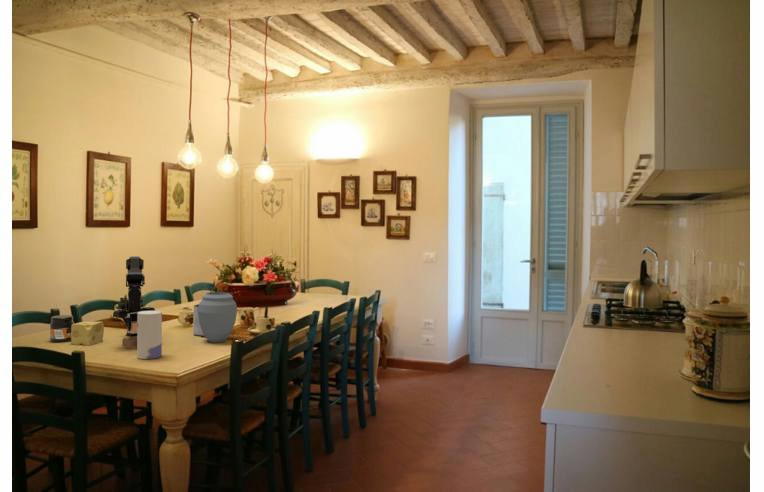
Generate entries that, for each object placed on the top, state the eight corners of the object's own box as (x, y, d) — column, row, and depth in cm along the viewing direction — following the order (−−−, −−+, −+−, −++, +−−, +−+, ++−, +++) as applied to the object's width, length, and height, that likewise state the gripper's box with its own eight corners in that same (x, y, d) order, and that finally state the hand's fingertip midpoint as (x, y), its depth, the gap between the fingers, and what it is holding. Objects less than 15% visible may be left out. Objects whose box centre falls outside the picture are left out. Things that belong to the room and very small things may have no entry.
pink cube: (136, 330, 276) (136, 320, 276) (142, 332, 273) (142, 321, 273) (126, 332, 272) (126, 322, 272) (132, 333, 269) (132, 323, 269)
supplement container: (57, 343, 275) (57, 319, 274) (45, 341, 280) (45, 316, 280) (78, 340, 284) (78, 316, 283) (67, 337, 289) (67, 314, 289)
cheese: (89, 345, 272) (89, 325, 272) (69, 344, 274) (69, 323, 274) (104, 341, 282) (104, 321, 282) (85, 340, 284) (85, 320, 284)
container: (141, 354, 257) (141, 310, 256) (164, 354, 258) (164, 310, 257) (133, 359, 247) (134, 313, 246) (157, 359, 248) (157, 313, 247)
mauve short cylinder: (139, 344, 278) (139, 335, 278) (146, 347, 273) (146, 338, 273) (122, 346, 273) (122, 337, 272) (129, 349, 267) (129, 340, 267)
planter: (186, 335, 302) (186, 306, 301) (206, 330, 317) (206, 302, 316) (210, 338, 296) (211, 308, 295) (230, 332, 311) (230, 304, 310)
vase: (244, 339, 295) (245, 292, 294) (222, 346, 276) (222, 296, 275) (212, 336, 301) (213, 290, 300) (188, 342, 283) (189, 294, 282)
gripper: (142, 294, 284) (142, 325, 285) (106, 298, 269) (106, 330, 269) (155, 296, 278) (155, 328, 278) (119, 300, 262) (119, 333, 263)
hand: (134, 330), depth 273 cm, fingers closed on pink cube, 5 cm apart
